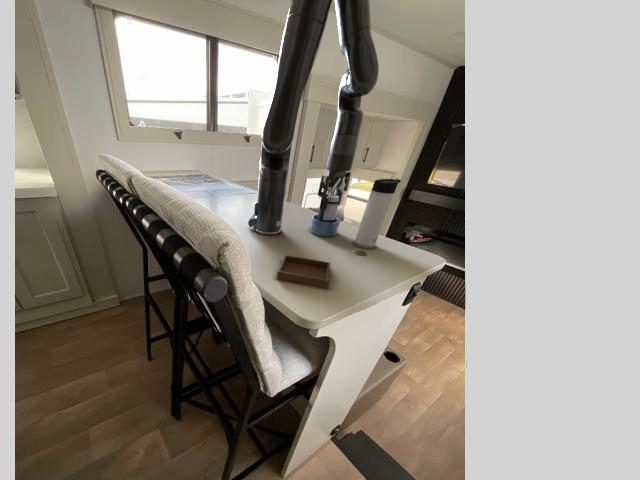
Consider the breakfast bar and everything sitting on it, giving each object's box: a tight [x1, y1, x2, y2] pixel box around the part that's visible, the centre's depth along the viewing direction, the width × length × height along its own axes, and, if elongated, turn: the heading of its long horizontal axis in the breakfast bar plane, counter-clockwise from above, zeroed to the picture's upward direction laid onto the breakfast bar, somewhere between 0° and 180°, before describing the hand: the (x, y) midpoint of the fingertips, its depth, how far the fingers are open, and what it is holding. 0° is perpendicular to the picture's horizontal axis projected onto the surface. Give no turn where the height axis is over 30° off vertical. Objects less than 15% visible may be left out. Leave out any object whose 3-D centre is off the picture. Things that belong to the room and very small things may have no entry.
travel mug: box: [353, 178, 402, 250], centre depth 76 cm, size 6×7×20 cm
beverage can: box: [317, 194, 339, 223], centre depth 87 cm, size 6×6×12 cm
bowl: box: [309, 214, 341, 237], centre depth 89 cm, size 9×9×5 cm
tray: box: [276, 254, 331, 289], centre depth 65 cm, size 12×10×2 cm
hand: (329, 207), depth 85 cm, fingers open, 8 cm apart
